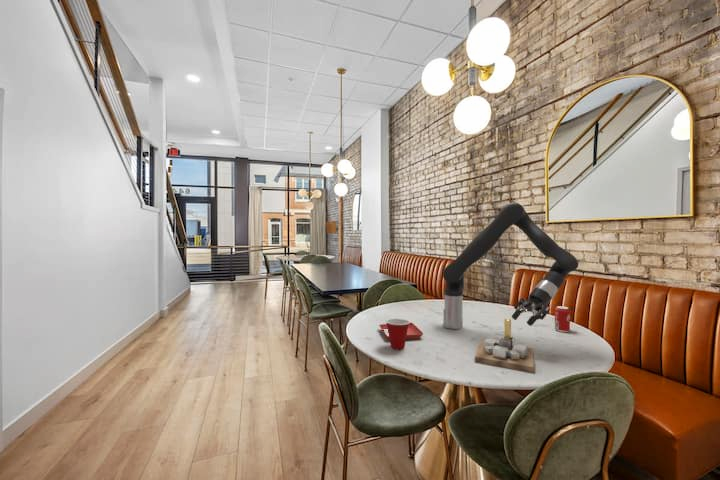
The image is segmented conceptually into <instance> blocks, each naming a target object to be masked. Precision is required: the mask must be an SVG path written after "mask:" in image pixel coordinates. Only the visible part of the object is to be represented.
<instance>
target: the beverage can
mask: <svg viewBox="0 0 720 480" xmlns="http://www.w3.org/2000/svg"><path fill="white" fill-rule="evenodd" d="M570 324H571V310H570V309H569V307H567V306H560V305H559V306H558V305H556V307H555V309H554V329H555V330H556V331H557V332H560V333H568V332H569V331H571V326H570Z"/></svg>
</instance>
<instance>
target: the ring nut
mask: <svg viewBox="0 0 720 480" xmlns="http://www.w3.org/2000/svg"><path fill="white" fill-rule="evenodd" d="M500 339H505V334H504V335H503V336H502V337H501V338H500ZM500 339H491V338H486V339H485V340H483V341H484V343H483V349H485V351H486V352H487V353H488V354H493V356H495V357H499V358H503V359H506V358H507V357H509V358H510V359H519V357H520V358H524V357H525V356H526V355H527V347H528V346H524V345H522V344H516V337H513V336H511V340H510V339H505V340H509V341H510V342H511V350H508V348H505V347H501V346H499V340H500Z"/></svg>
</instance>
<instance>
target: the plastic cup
mask: <svg viewBox="0 0 720 480" xmlns="http://www.w3.org/2000/svg"><path fill="white" fill-rule="evenodd" d="M410 323H411V321H410V320H408V319H403V318H389V319H388V318H387V319H386V320H385V324H387V328H388V333H389V339H390V340H389V342H390V343H389V344H390V347H392V348H393V349H392V348H391V349H392V350H395V349H402V350H404V349H405V346H406V336H407V329H408V326H409V324H410ZM403 348H404V349H403Z"/></svg>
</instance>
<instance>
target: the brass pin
mask: <svg viewBox="0 0 720 480" xmlns="http://www.w3.org/2000/svg"><path fill="white" fill-rule="evenodd" d="M504 335H505V339H510V340H511V337H512V320H511V319H510V318H505V319H504Z"/></svg>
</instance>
